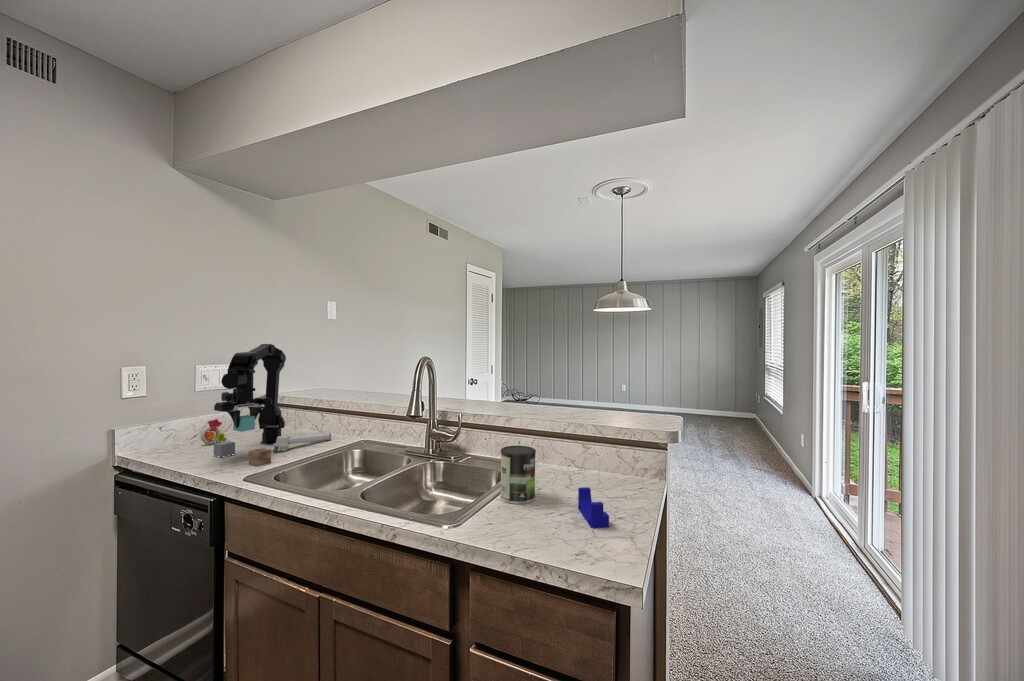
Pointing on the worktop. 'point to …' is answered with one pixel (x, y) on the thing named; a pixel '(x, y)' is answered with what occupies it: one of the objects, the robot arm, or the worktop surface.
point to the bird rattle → (208, 436)
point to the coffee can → (518, 474)
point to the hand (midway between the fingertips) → (244, 426)
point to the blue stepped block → (592, 509)
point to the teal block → (245, 423)
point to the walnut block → (260, 456)
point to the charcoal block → (224, 448)
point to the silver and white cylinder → (299, 440)
